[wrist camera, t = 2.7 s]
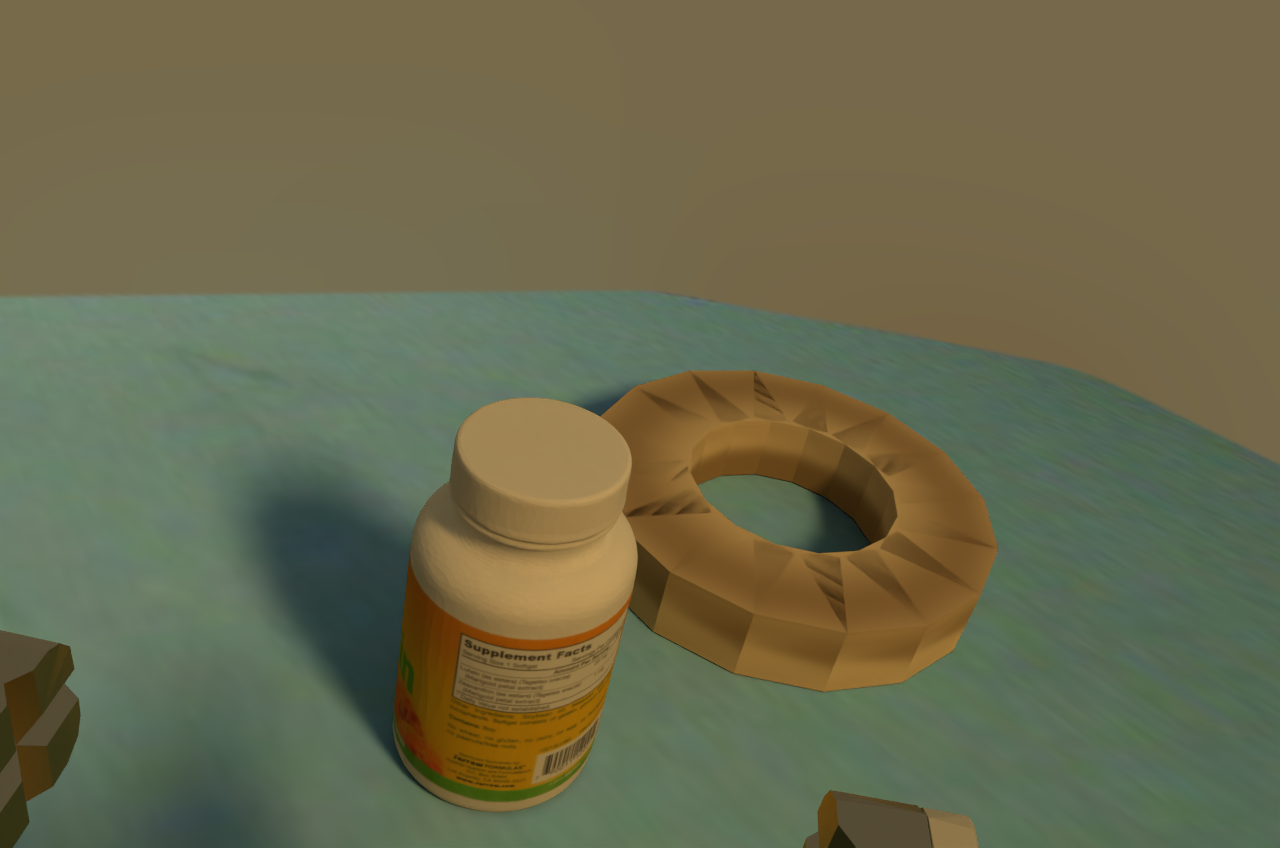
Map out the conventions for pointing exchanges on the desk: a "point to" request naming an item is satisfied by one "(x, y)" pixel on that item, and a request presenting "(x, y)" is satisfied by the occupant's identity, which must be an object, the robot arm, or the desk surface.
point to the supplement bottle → (515, 605)
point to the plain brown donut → (788, 577)
